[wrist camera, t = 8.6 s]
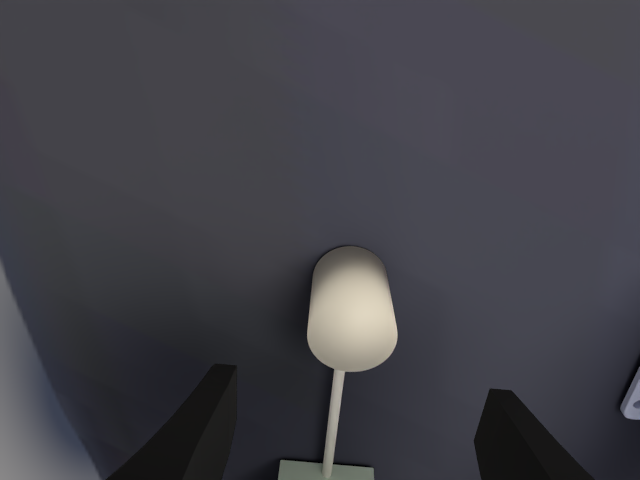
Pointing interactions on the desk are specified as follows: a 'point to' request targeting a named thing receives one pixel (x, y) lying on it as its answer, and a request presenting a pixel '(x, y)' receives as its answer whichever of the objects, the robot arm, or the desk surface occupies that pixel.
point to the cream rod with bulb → (346, 340)
